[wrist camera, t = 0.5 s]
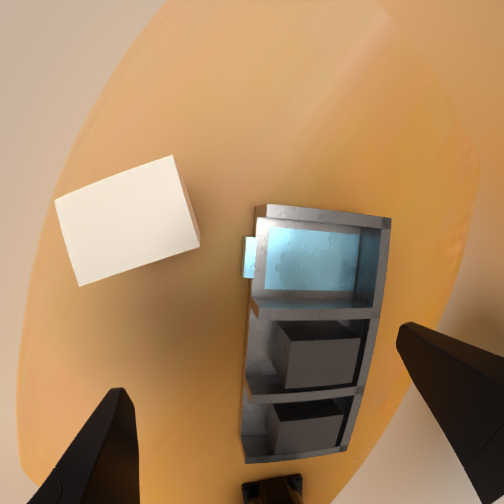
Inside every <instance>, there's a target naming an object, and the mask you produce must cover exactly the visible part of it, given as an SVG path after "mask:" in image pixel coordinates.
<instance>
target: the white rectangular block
mask: <svg viewBox="0 0 504 504" xmlns="http://www.w3.org/2000/svg"><path fill="white" fill-rule="evenodd" d="M54 201H55V206H56V210H57V214H58V218H59V222H60V226H61V230H62V233H63V237H64V240H65V244H66V247H67V251H68V254H69V257H70V260H71V263H72V267H73V270H74V273H75V276H76V279H77V281H78V284H79V287H80V286H83V285H86V284H89V283H92V282H95V281H98V280H101V279H103V278H106V277H109V276H112V275H115V274H118V273H121V272H124V271H127V270H130V269H133V268H136V267H139V266H142V265H145V264H148V263H152V262H155V261H158V260H161V259H164V258H167V257H170V256H173V255H176V254H179V253H182V252H185V251H189V250H192V249H195V248H198V247H200V231H199V228H198V224H197V221H196V218H195V214H194V211H193V208H192V204H191V201H190V198H189V194H188V191H187V187H186V185H185V183H184V180H183V178H182V176H181V173H180V171H179V169H178V166H177V164H176V162H175V159H174V157H173V155H170V156H167V157H164V158H161V159H158V160H155V161H152V162H149V163H146V164H143V165H140V166H138V167H135V168H132V169H129V170H126V171H124V172H121V173H118V174H116V175H113V176H110V177H108V178H105V179H103V180H100V181H98V182H95V183H93V184H90V185H88V186H85V187H83V188H81V189H78V190H76V191H73V192H71V193H69V194H67V195H64V196H62V197H60V198H58V199H55V200H54Z"/></svg>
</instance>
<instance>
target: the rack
mask: <svg viewBox="0 0 504 504" xmlns="http://www.w3.org/2000/svg"><path fill="white" fill-rule="evenodd" d="M390 231H391V218H386V217H379V216H372V215H364V214H357V213H349V212H341V211H332V210H324V209H315V208H306V207H296V206H286V205H276V204H264V205H260V206H256V207H255V220H254V233H253V237H250V236H244V239H243V253H242V267H241V275H242V276H243V278H250V287H249V300H248V313H247V327H246V340H245V353H244V367H243V380H242V393H241V407H240V420H239V433H238V436H239V440H240V445H241V449H242V454H243V458H244V462H245V464H252V463H266V462H277V461H287V460H295V459H302V458H309V457H316V456H322V455H327V454H333V453H338V452H343V451H346V450H347V447H348V444H349V441H350V438H351V434H352V431H353V428H354V425H355V421H356V418H357V414H358V411H359V407H360V404H361V400H362V396H363V393H364V389H365V385H366V381H367V377H368V372H369V368H370V364H371V359H372V355H373V350H374V345H375V340H376V335H377V330H378V324H379V318H380V312H381V306H382V300H383V293H384V286H385V279H386V271H387V262H388V253H389V243H390Z"/></svg>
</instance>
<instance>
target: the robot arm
mask: <svg viewBox="0 0 504 504" xmlns="http://www.w3.org/2000/svg"><path fill="white" fill-rule="evenodd" d="M396 348H397V350H398V352H399V354H400V356H401V358H402V360H403V362H404V364H405V366H406V368H407V370H408V372H409V374H410V377H411V378H412V380H413V382H414V384H415V386H416V387H417V389H418V391H419V392H420V394H421V395H422V397H423V399H424V400H425V402H426V403H427V405H428V407H429V408H430V410H431V412H432V413H433V415H434V417H435V418H436V420H437V422H438V423H439V425H440V427H441V428H442V430H443V432H444V433H445V435H446V437H447V439H448V441H449V442H450V444H451V446H452V447H453V449H454V451H455V453H456V455H457V457H458V458H459V460H460V462H461V464H462V466H463V467H464V470H465V471H466V473H467V475H468V477H469V479H470V481H471V483H472V485H473V487H474V489H475V490H476V492H477V494H478V496H479V498H480V500H481V502H482V504H492V503H493V502H494V501H496V500H497V499H499V498H500V497H501V496H503V495H504V357H501V356H499V355H494V354H493V353H491V352H488V351H486V350H483V349H480V348H478V347H475V346H473V345H470V344H467V343H465V342H462V341H460V340H457V339H455V338H452V337H450V336H447V335H444V334H442V333H439V332H437V331H434V330H432V329H429V328H427V327H424V326H421V325H419V324H416V323H414V322H407V323H405V324H402V325H401V326H400V328H399V332H398V336H397V340H396ZM55 467H56V468H54V469H53V470H52V471H51V473H50V474H49V476H48V477H47V479H46V480H45V481H44V483H43V484H42V486H41V487H40V488H39V489H38V491H37V492H36V493H35V494H34V496H33V497H32V498H31V499H30V501H29V502H28V503H27V504H140V491H139V448H138V439H137V429H136V418H135V408H134V405H133V402H132V401H131V399H130V397H129V396H128V394H127V392H126V390H125V389H124V388H122V387H120V388H111V389H110V390H109V391H108V393H107V394H106V395H105V397H104V398H103V399H102V401H101V402H100V404H99V405H98V406H97V408H96V409H95V410H94V412H93V413H92V415H91V416H90V417H89V419H88V420H87V422H86V423H85V424H84V426H83V427H82V429H81V430H80V431H79V433H78V434H77V436H76V437H75V438H74V440H73V441H72V443H71V444H70V446H69V447H68V448H67V450H66V451H65V453H64V454H63V456H62V457H61V459H60V460H59V461H58V463H57V464H56V466H55ZM302 480H303V478H302V476H301V475H300V474H297V475H293V476H288V477H283V478H278V479H273V480H267V481H261V482H254V483H248V484H243V485H242V493H243V499H244V504H304V503H303V501H302V499H301V495H302Z"/></svg>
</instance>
